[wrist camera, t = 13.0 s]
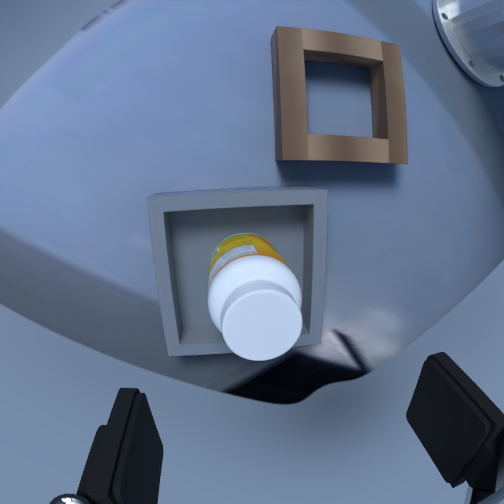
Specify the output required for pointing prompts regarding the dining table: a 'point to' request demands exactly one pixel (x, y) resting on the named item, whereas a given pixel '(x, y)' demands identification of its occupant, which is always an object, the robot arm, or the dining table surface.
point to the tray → (215, 231)
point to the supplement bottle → (253, 297)
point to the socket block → (295, 105)
